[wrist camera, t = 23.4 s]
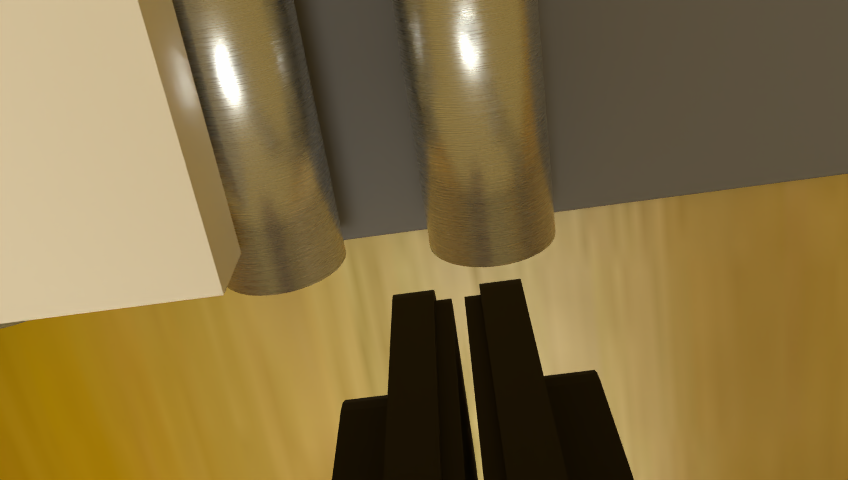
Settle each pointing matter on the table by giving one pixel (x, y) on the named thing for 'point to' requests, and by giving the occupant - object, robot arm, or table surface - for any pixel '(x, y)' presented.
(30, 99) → the slab
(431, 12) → the roller
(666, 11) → the runway
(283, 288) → the roller
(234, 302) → the table surface
